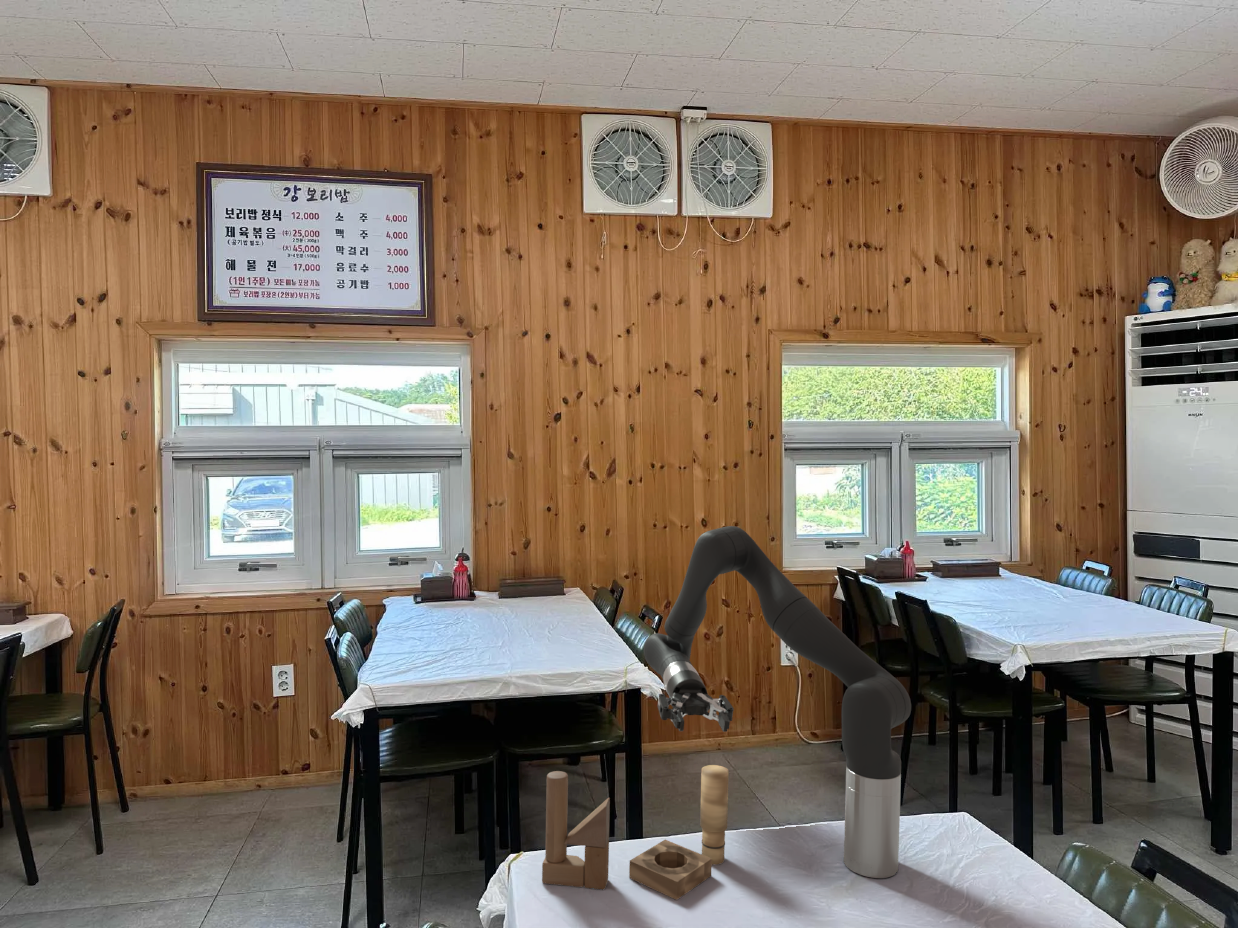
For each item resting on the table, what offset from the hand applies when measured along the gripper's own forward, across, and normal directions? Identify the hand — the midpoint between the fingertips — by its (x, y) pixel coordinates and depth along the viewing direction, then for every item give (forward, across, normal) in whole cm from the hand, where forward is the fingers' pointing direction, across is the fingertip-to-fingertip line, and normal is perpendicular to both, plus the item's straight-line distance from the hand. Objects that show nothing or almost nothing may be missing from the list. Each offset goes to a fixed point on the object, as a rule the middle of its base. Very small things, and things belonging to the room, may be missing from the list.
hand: (704, 726), depth 154 cm
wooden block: (+16, -24, +20) cm, 35 cm away
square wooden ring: (+17, -8, +18) cm, 26 cm away
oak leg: (+12, +1, +19) cm, 22 cm away
